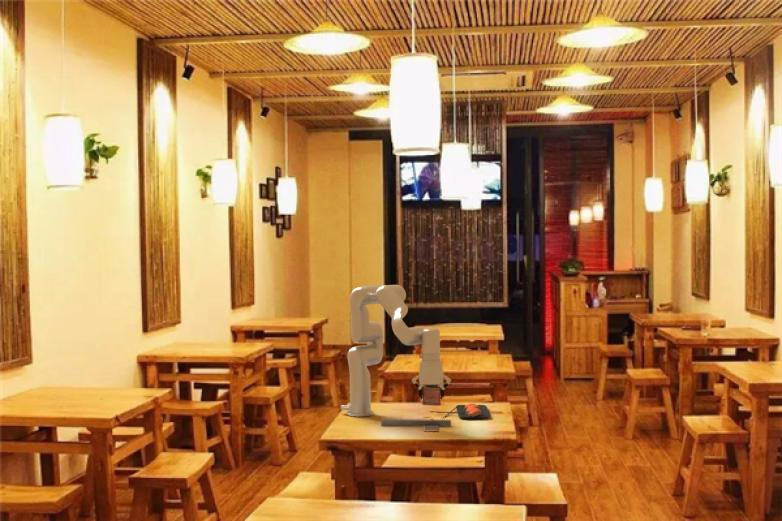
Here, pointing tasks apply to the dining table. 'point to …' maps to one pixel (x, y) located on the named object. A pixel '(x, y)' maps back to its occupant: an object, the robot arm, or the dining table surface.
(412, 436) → the dining table surface
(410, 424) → the rail
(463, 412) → the sushi plate
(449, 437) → the dining table surface
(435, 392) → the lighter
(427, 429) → the marked pad
